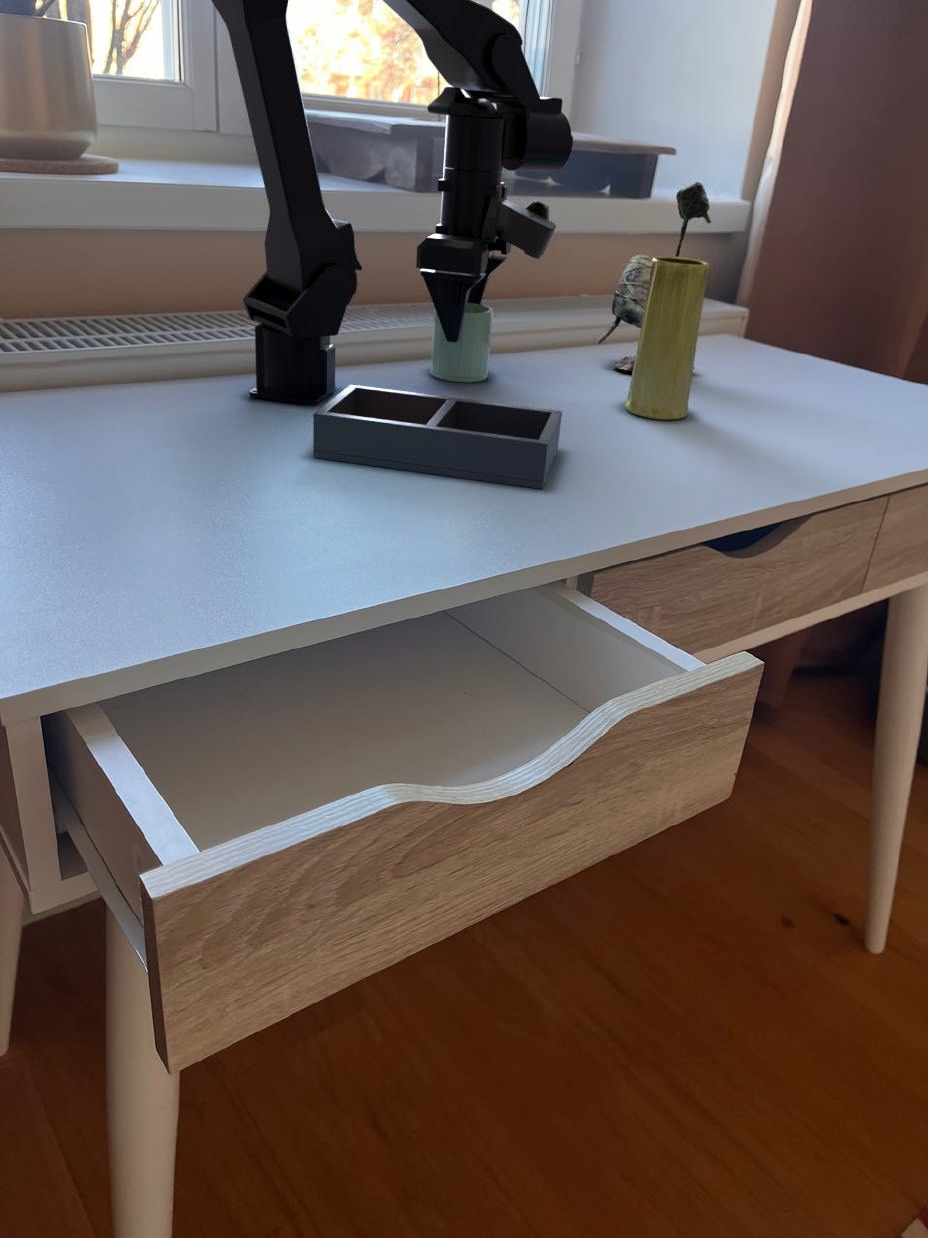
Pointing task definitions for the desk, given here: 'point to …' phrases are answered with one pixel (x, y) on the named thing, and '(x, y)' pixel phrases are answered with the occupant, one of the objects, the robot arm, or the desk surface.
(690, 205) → the plant with pod
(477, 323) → the cup
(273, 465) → the desk surface
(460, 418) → the holder
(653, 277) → the vase
